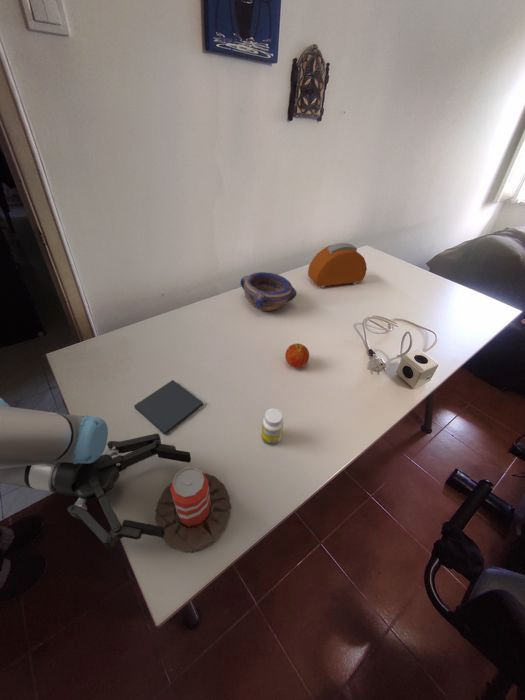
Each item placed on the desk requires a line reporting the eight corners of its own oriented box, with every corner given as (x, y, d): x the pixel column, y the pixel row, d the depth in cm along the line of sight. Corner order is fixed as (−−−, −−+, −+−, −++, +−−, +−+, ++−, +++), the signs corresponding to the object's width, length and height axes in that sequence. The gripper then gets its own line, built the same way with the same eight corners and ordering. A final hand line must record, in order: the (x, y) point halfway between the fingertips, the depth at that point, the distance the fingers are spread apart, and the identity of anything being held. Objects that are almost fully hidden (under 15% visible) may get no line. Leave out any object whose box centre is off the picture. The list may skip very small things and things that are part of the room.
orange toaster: (352, 274, 141) (362, 238, 131) (363, 284, 135) (374, 246, 124) (305, 280, 135) (312, 242, 124) (314, 290, 129) (322, 251, 118)
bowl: (298, 313, 115) (302, 289, 108) (253, 322, 109) (254, 297, 102) (278, 289, 127) (280, 267, 121) (236, 296, 121) (236, 273, 115)
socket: (191, 570, 53) (189, 567, 52) (142, 515, 59) (140, 511, 58) (244, 507, 61) (244, 502, 60) (197, 464, 67) (196, 460, 66)
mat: (165, 435, 72) (164, 432, 72) (134, 408, 78) (133, 405, 77) (203, 405, 80) (203, 402, 79) (173, 382, 85) (172, 379, 85)
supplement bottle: (268, 425, 76) (271, 403, 71) (284, 435, 74) (288, 413, 69) (257, 438, 73) (258, 416, 68) (273, 449, 71) (276, 427, 66)
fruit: (309, 359, 95) (313, 339, 90) (304, 374, 90) (308, 354, 85) (287, 354, 97) (290, 334, 92) (281, 368, 92) (284, 348, 87)
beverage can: (189, 490, 63) (182, 458, 55) (216, 503, 61) (214, 473, 54) (171, 519, 59) (161, 489, 51) (200, 534, 57) (194, 506, 49)
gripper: (107, 427, 69) (199, 443, 68) (27, 554, 51) (152, 580, 49) (98, 406, 65) (197, 422, 63) (4, 537, 46) (143, 565, 44)
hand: (177, 491), depth 56 cm, fingers open, 13 cm apart
